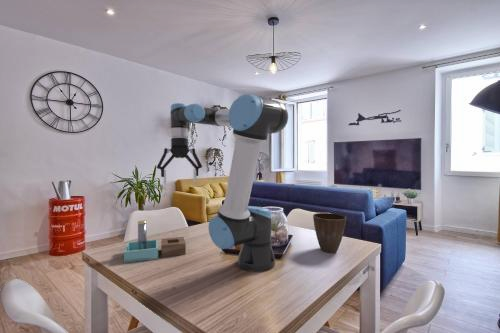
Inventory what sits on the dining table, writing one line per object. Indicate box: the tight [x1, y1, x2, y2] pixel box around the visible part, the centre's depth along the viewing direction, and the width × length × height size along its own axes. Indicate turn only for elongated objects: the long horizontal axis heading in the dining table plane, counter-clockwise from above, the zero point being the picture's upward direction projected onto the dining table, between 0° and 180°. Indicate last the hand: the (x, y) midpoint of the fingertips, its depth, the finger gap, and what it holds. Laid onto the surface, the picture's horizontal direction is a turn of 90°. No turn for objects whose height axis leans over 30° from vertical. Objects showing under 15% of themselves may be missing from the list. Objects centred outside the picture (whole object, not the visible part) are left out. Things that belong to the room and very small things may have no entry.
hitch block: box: [160, 236, 187, 258], centre depth 118 cm, size 10×10×5 cm
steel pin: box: [137, 220, 148, 250], centre depth 114 cm, size 4×4×14 cm
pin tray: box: [123, 238, 159, 264], centre depth 114 cm, size 13×13×4 cm
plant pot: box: [312, 212, 347, 253], centre depth 121 cm, size 15×15×16 cm
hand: (180, 183), depth 120 cm, fingers open, 13 cm apart
